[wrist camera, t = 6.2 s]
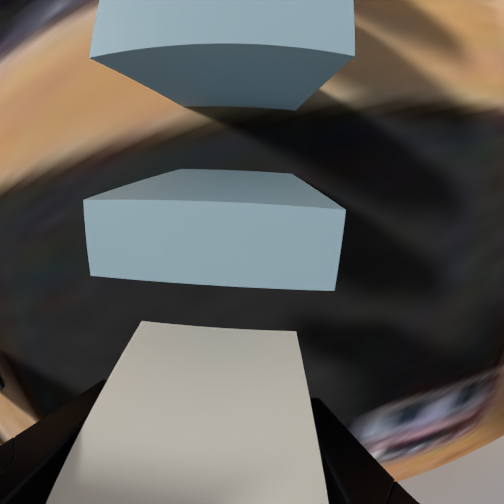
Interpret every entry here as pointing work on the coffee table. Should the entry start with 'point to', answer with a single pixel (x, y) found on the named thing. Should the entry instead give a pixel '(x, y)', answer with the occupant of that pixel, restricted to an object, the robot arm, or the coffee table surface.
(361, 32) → the coffee table surface
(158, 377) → the domino
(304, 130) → the coffee table surface
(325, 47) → the domino
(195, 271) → the domino
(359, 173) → the coffee table surface
